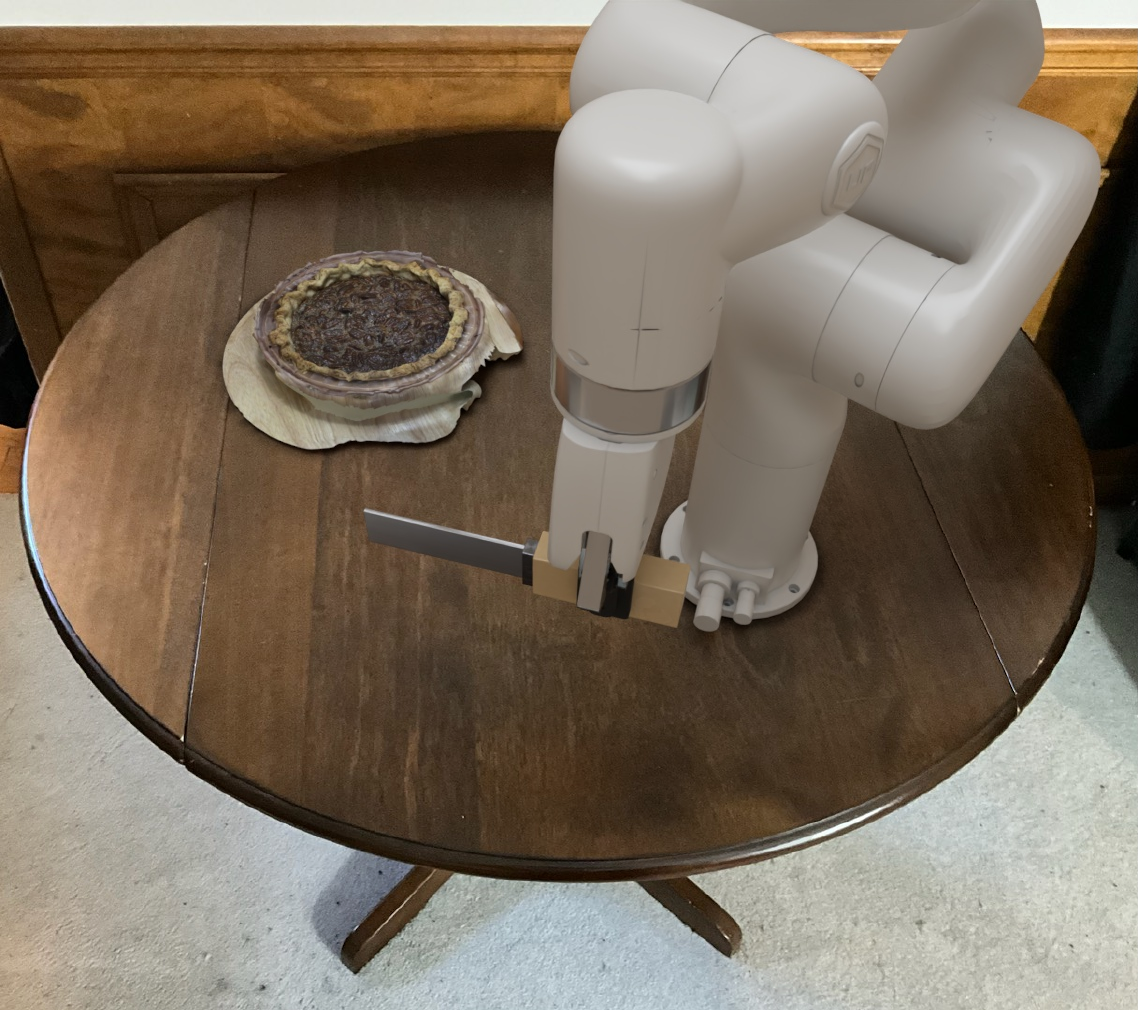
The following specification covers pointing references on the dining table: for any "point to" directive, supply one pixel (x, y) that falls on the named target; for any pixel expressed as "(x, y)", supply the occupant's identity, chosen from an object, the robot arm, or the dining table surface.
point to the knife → (532, 563)
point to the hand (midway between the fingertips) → (609, 589)
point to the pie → (366, 350)
